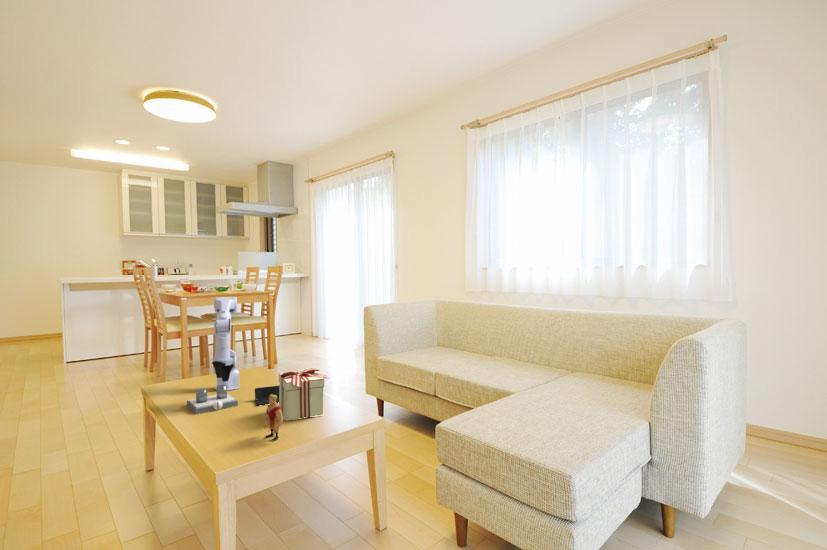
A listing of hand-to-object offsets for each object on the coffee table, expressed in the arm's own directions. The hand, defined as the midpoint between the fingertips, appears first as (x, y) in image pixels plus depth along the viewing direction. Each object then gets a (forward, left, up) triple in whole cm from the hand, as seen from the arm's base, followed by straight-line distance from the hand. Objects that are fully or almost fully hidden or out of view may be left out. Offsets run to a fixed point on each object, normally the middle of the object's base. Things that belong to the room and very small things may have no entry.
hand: (222, 379), depth 172 cm
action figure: (-1, +49, -10) cm, 50 cm away
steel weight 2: (0, 0, -8) cm, 8 cm away
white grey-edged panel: (+4, 0, -10) cm, 11 cm away
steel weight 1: (+8, 0, -8) cm, 11 cm away
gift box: (-20, +34, -11) cm, 41 cm away
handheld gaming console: (-16, +10, -11) cm, 22 cm away
